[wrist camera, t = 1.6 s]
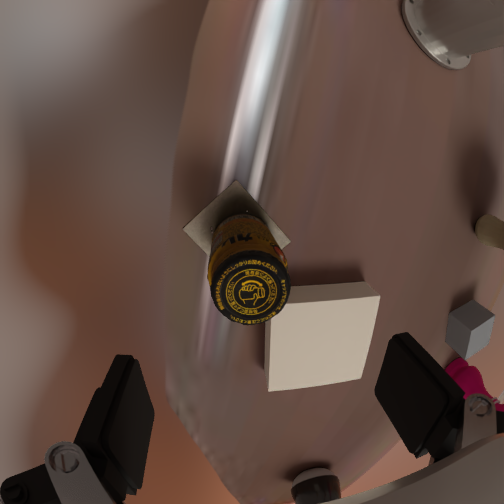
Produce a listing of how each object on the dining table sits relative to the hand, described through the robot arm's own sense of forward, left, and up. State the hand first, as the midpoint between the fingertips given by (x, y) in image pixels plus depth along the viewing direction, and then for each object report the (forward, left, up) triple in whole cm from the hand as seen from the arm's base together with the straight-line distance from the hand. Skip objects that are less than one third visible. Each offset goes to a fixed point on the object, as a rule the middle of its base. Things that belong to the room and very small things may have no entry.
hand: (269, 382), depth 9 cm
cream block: (+12, +9, -21) cm, 26 cm away
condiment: (0, 0, -21) cm, 21 cm away
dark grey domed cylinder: (+52, +14, -21) cm, 58 cm away
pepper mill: (+27, +40, -21) cm, 52 cm away
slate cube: (+15, +36, -21) cm, 44 cm away
